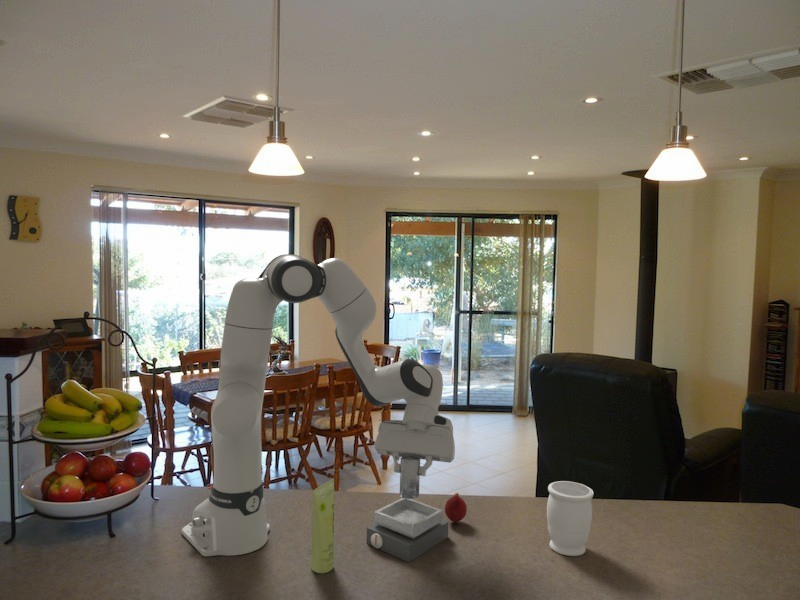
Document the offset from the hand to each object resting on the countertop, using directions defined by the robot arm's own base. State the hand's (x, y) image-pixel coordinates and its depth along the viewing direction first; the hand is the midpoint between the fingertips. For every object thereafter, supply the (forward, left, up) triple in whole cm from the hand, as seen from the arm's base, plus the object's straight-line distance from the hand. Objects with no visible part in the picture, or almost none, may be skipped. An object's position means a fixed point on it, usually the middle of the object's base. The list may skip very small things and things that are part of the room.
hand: (409, 473), depth 142 cm
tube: (-7, -22, -17) cm, 29 cm away
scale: (0, +1, -17) cm, 17 cm away
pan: (0, +1, -13) cm, 13 cm away
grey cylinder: (0, +1, -6) cm, 6 cm away
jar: (+31, +24, -17) cm, 43 cm away
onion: (+3, +17, -17) cm, 24 cm away
